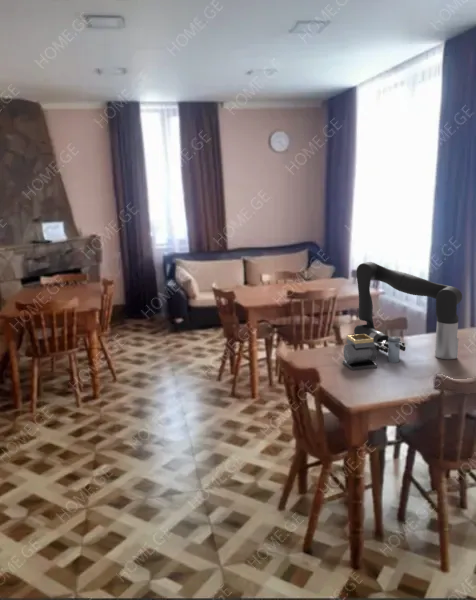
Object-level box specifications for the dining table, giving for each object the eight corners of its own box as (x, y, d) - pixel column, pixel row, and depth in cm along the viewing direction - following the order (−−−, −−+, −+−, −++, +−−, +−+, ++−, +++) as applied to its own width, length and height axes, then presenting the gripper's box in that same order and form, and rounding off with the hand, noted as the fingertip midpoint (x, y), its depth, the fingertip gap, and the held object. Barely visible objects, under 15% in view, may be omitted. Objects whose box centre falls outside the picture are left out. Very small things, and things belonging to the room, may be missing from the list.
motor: (367, 360, 237) (367, 333, 234) (377, 367, 227) (377, 339, 224) (343, 363, 234) (343, 335, 232) (352, 370, 225) (352, 341, 222)
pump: (385, 359, 237) (385, 337, 235) (396, 358, 238) (396, 336, 236) (392, 364, 231) (393, 341, 228) (403, 363, 232) (404, 340, 229)
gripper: (366, 333, 245) (381, 343, 230) (393, 331, 248) (410, 340, 233) (365, 348, 247) (381, 359, 232) (392, 345, 250) (409, 356, 234)
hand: (396, 349), depth 232 cm, fingers open, 8 cm apart
